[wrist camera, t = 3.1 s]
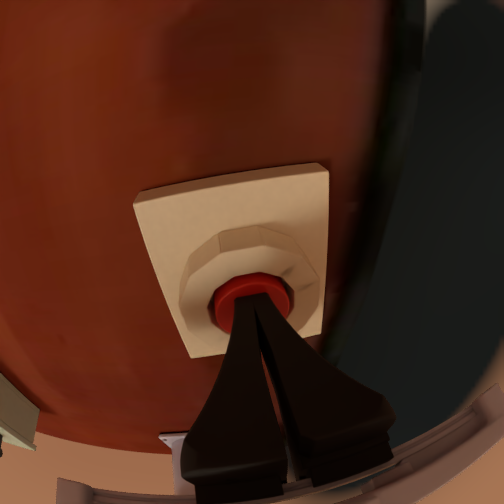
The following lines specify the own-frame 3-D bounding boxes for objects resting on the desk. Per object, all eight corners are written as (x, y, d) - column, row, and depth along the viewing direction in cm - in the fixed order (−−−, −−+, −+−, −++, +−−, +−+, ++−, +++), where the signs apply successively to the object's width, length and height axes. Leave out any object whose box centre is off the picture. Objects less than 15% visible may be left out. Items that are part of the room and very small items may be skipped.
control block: (314, 318, 18) (329, 353, 15) (190, 341, 17) (191, 380, 15) (317, 161, 12) (347, 184, 10) (138, 191, 12) (122, 222, 9)
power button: (281, 304, 14) (290, 329, 13) (219, 315, 14) (222, 342, 13) (278, 252, 13) (289, 276, 11) (206, 265, 12) (208, 291, 11)
